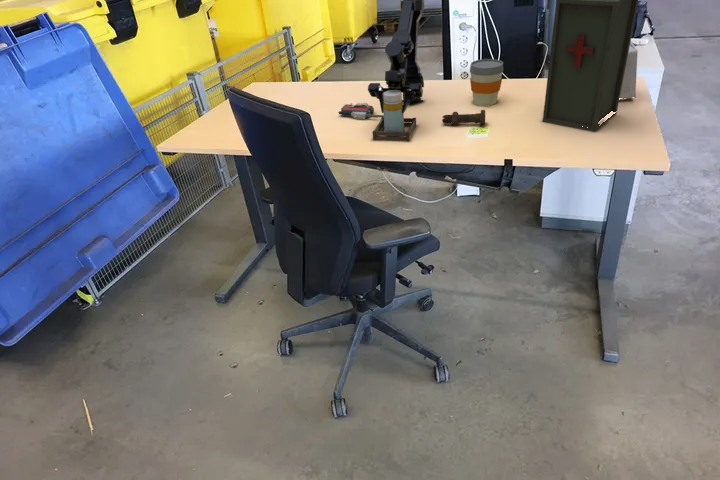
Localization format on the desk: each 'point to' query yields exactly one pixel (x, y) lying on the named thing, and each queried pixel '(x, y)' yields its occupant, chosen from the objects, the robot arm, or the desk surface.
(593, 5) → the first aid box
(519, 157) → the desk surface
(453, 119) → the bolt
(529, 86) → the desk surface
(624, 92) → the electrical switch box
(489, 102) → the reusable coffee cup
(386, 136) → the crate
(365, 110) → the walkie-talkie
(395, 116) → the bottle
